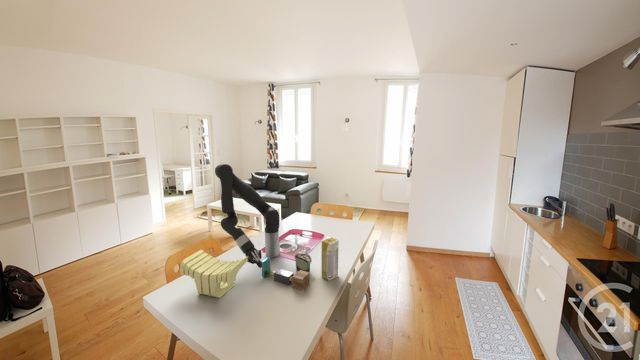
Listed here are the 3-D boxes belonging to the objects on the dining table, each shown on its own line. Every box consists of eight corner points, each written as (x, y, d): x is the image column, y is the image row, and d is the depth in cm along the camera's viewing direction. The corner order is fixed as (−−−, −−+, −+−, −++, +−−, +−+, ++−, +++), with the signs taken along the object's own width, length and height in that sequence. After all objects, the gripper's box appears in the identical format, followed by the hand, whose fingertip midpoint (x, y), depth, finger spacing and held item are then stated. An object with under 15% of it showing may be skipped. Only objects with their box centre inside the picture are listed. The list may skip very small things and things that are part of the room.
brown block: (300, 281, 155) (300, 269, 154) (309, 283, 153) (309, 272, 151) (292, 288, 148) (292, 276, 147) (302, 291, 146) (302, 279, 144)
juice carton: (330, 271, 166) (330, 234, 162) (340, 276, 161) (340, 237, 156) (319, 277, 160) (319, 238, 155) (329, 282, 154) (329, 242, 150)
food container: (315, 272, 164) (315, 257, 163) (308, 276, 160) (308, 261, 158) (302, 265, 173) (301, 251, 171) (294, 269, 168) (294, 254, 166)
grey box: (268, 272, 164) (267, 257, 162) (296, 280, 155) (296, 264, 153) (262, 277, 158) (261, 261, 157) (290, 285, 150) (290, 269, 148)
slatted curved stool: (182, 293, 144) (179, 262, 140) (203, 277, 159) (201, 249, 155) (231, 303, 135) (229, 270, 132) (248, 286, 150) (247, 256, 147)
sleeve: (279, 276, 160) (279, 268, 159) (293, 280, 156) (293, 272, 155) (274, 281, 155) (273, 272, 154) (288, 285, 151) (288, 277, 150)
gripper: (240, 244, 157) (258, 269, 154) (255, 236, 169) (272, 259, 165) (233, 251, 160) (251, 275, 157) (249, 243, 172) (265, 265, 169)
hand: (261, 267), depth 161 cm, fingers closed
